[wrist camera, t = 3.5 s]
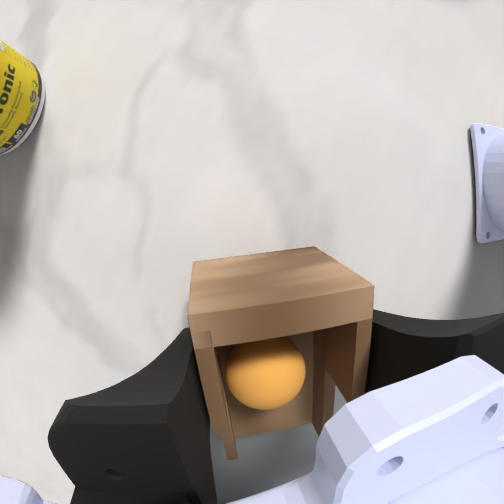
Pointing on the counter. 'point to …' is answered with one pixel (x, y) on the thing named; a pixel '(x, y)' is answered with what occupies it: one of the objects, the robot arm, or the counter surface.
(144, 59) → the counter surface
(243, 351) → the ball
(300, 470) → the tray
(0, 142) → the supplement bottle
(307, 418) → the box
